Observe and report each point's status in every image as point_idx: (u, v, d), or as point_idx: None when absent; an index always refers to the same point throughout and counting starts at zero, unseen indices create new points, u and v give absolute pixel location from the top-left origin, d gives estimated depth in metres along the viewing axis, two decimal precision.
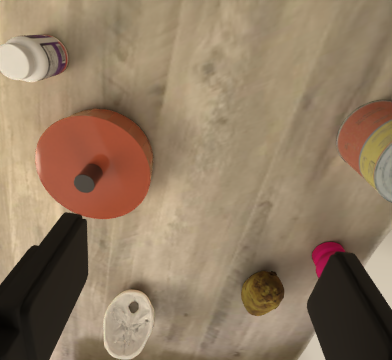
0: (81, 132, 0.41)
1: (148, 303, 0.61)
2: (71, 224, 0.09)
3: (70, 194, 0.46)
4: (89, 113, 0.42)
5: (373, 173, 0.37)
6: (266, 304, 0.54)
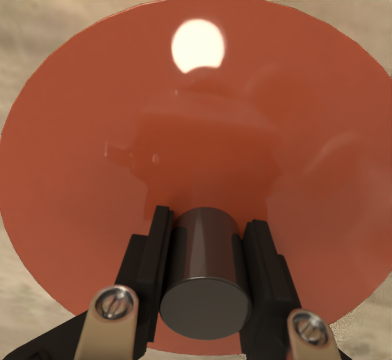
0: (355, 225, 0.12)
1: None
2: (166, 215, 0.11)
3: (95, 137, 0.10)
4: None
5: None
6: None
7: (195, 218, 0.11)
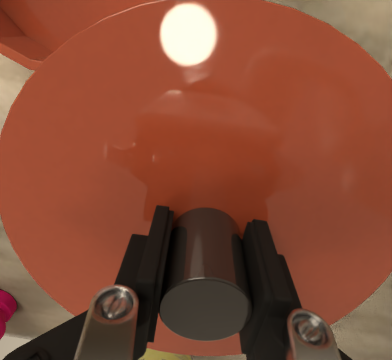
0: (355, 226, 0.12)
1: None
2: (166, 215, 0.11)
3: (95, 138, 0.10)
4: None
5: None
6: None
7: (194, 218, 0.11)
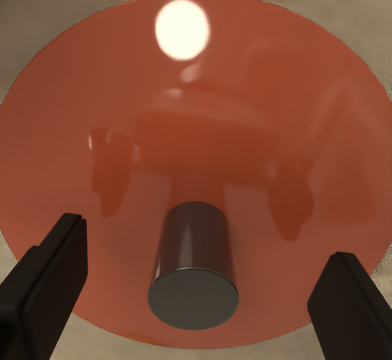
0: (342, 219, 0.12)
1: None
2: (71, 224, 0.09)
3: (86, 133, 0.11)
4: None
5: None
6: None
7: (184, 212, 0.11)
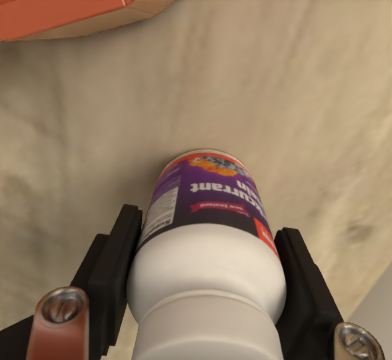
0: None
1: None
2: (132, 214, 0.10)
3: None
4: None
5: None
6: None
7: None
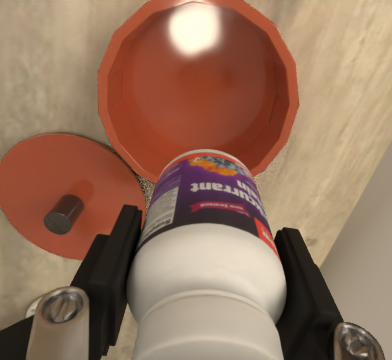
0: (86, 245, 0.37)
1: None
2: (132, 214, 0.10)
3: (102, 174, 0.32)
4: None
5: None
6: None
7: (80, 205, 0.33)
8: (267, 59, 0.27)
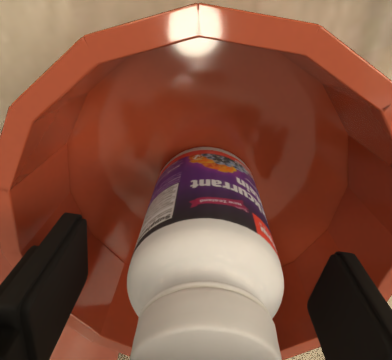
0: None
1: None
2: (71, 224, 0.09)
3: None
4: None
5: None
6: None
7: None
8: (338, 131, 0.14)
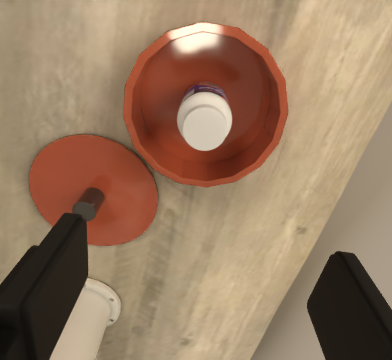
0: (105, 232, 0.42)
1: None
2: (71, 224, 0.09)
3: (122, 170, 0.37)
4: None
5: None
6: None
7: (102, 197, 0.39)
8: (263, 74, 0.32)
